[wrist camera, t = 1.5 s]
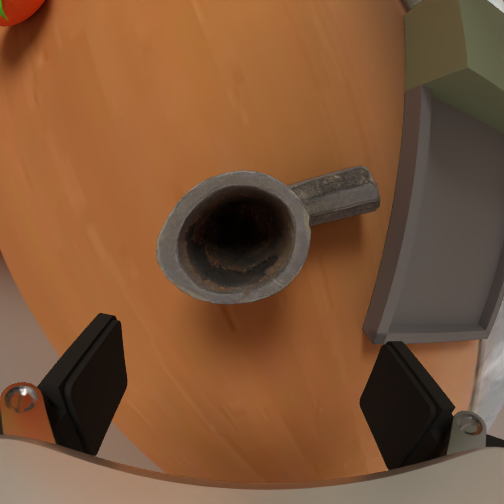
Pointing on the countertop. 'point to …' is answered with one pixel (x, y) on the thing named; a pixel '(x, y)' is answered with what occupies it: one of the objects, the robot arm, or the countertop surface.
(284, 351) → the countertop surface
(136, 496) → the robot arm
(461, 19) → the gray tray
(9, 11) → the clementine
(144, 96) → the countertop surface
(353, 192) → the pipe
